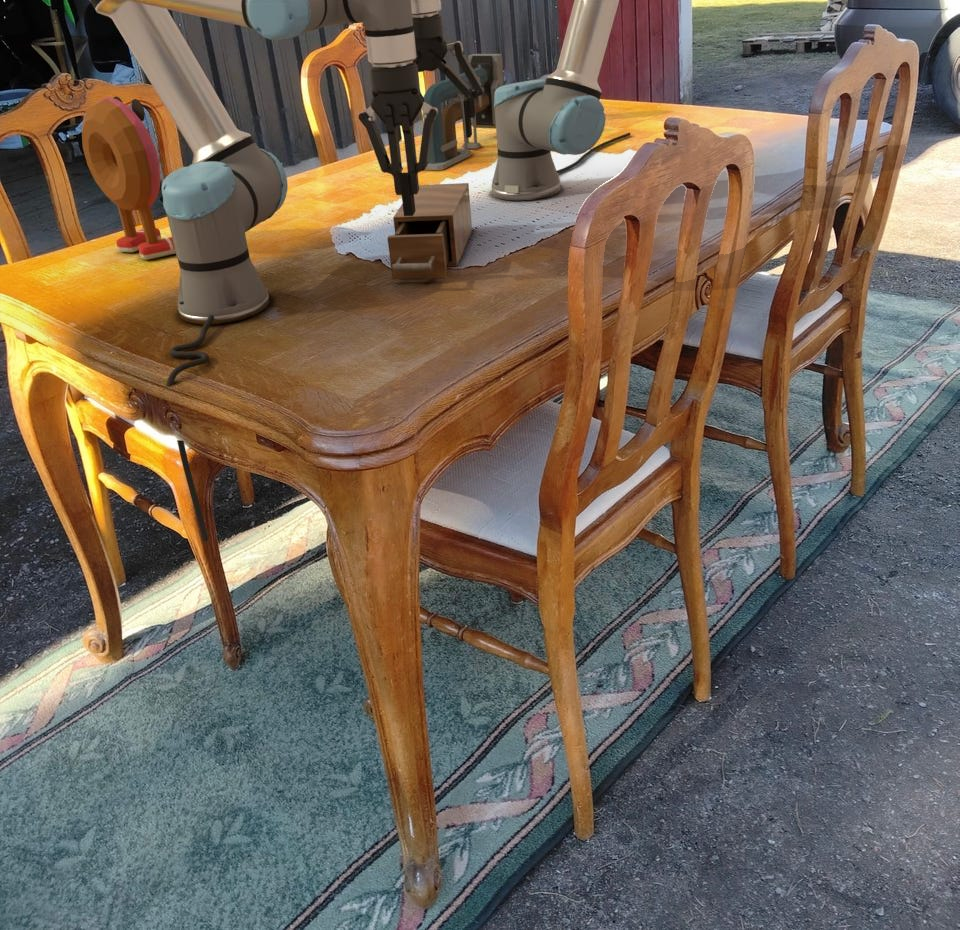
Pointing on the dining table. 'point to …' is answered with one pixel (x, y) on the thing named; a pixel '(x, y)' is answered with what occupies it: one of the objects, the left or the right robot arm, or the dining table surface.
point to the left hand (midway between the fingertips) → (409, 213)
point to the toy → (126, 170)
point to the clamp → (462, 111)
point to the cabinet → (443, 213)
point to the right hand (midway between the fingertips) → (433, 138)
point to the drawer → (420, 249)
